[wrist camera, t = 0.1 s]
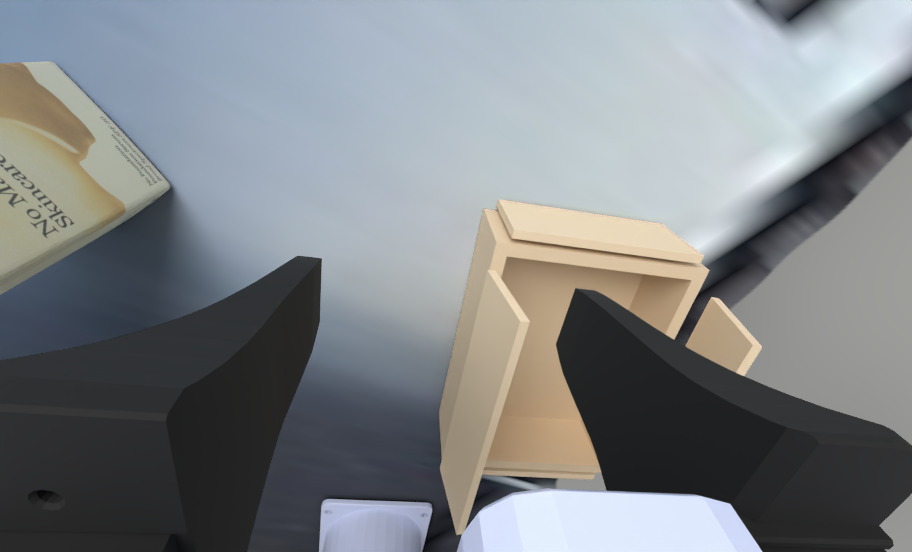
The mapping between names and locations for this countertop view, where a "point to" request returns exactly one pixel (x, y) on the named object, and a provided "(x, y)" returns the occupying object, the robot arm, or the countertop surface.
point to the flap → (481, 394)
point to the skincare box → (61, 171)
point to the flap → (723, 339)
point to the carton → (546, 304)
